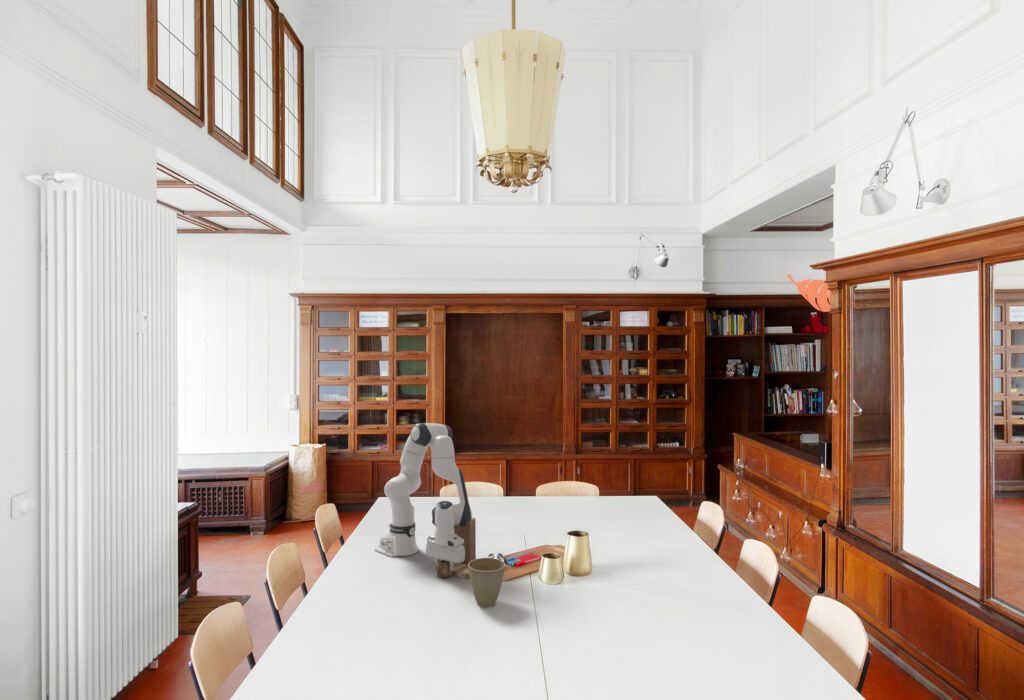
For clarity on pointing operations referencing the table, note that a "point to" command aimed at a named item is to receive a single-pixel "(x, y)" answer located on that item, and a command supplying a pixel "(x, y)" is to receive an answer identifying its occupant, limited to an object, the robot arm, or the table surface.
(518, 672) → the table surface
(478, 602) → the plant pot
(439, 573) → the block
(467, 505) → the robot arm
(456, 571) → the board
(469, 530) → the wooden block
